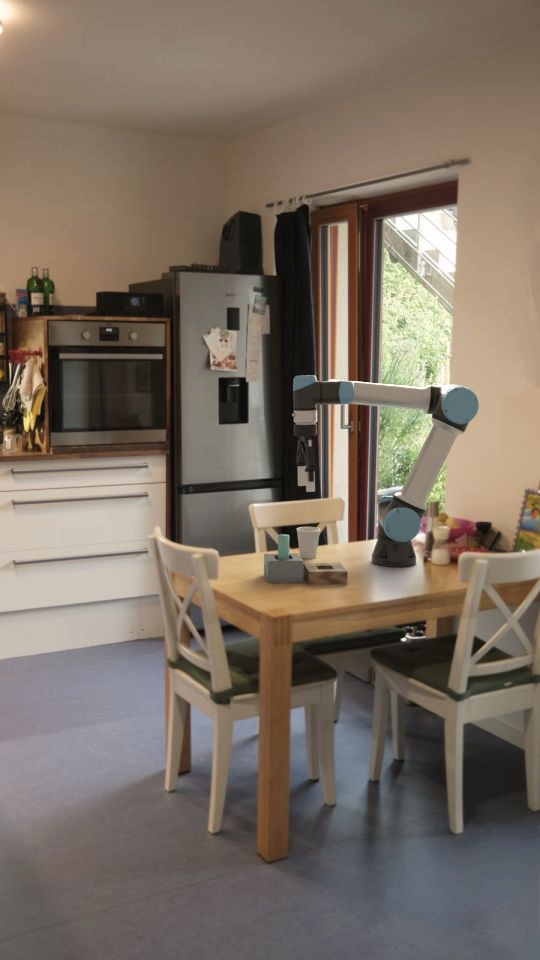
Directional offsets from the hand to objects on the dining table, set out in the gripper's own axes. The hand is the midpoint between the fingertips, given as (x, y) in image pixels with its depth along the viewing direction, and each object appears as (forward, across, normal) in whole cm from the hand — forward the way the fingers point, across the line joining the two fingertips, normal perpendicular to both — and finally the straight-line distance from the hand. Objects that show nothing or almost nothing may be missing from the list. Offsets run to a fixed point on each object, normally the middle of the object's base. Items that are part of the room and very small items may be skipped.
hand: (306, 488), depth 318 cm
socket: (+27, +11, -10) cm, 31 cm away
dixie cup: (+27, -20, +4) cm, 34 cm away
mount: (+27, +14, +3) cm, 31 cm away
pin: (+27, +11, -10) cm, 31 cm away
